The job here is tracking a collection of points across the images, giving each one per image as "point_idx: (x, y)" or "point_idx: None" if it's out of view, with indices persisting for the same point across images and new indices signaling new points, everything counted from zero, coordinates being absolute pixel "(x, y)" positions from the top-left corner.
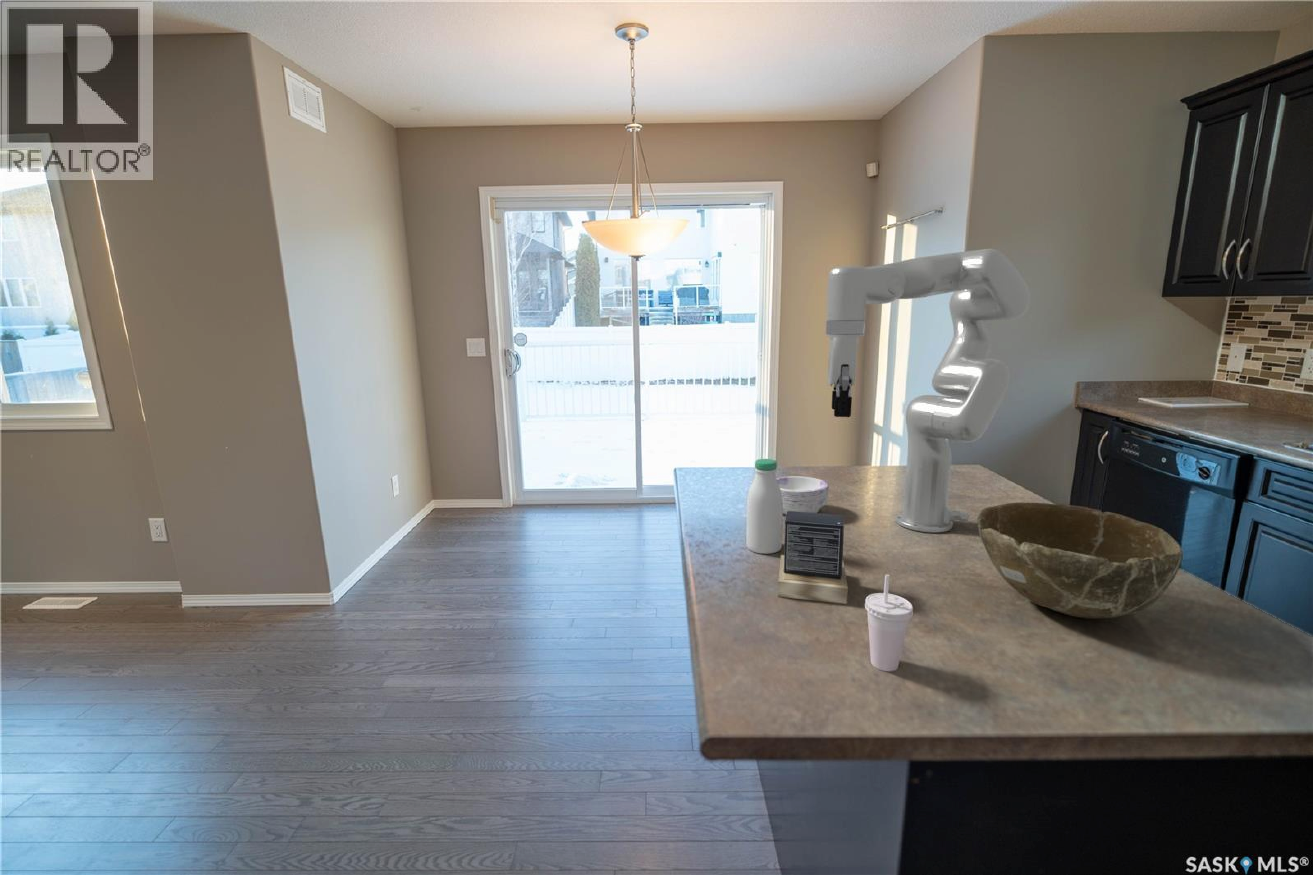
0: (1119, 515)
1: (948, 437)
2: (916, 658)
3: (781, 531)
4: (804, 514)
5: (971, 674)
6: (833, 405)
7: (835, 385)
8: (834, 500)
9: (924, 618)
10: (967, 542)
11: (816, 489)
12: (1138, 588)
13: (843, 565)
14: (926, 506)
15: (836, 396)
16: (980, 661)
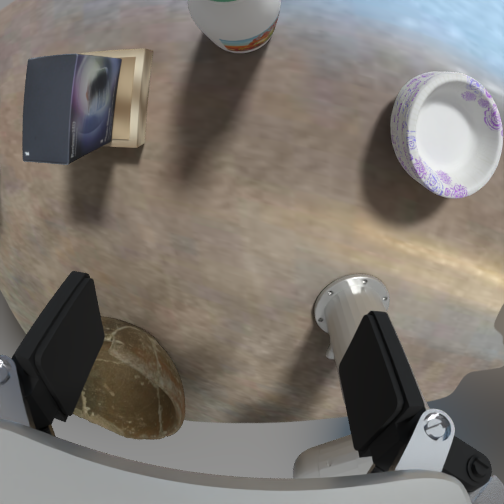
0: (155, 438)
1: (331, 441)
2: (5, 193)
3: (224, 47)
4: (54, 90)
5: (4, 228)
6: (368, 330)
7: (394, 461)
8: (467, 209)
9: (61, 218)
10: (281, 331)
11: (417, 162)
12: None
13: (117, 146)
14: (332, 325)
15: (7, 361)
16: (19, 240)
